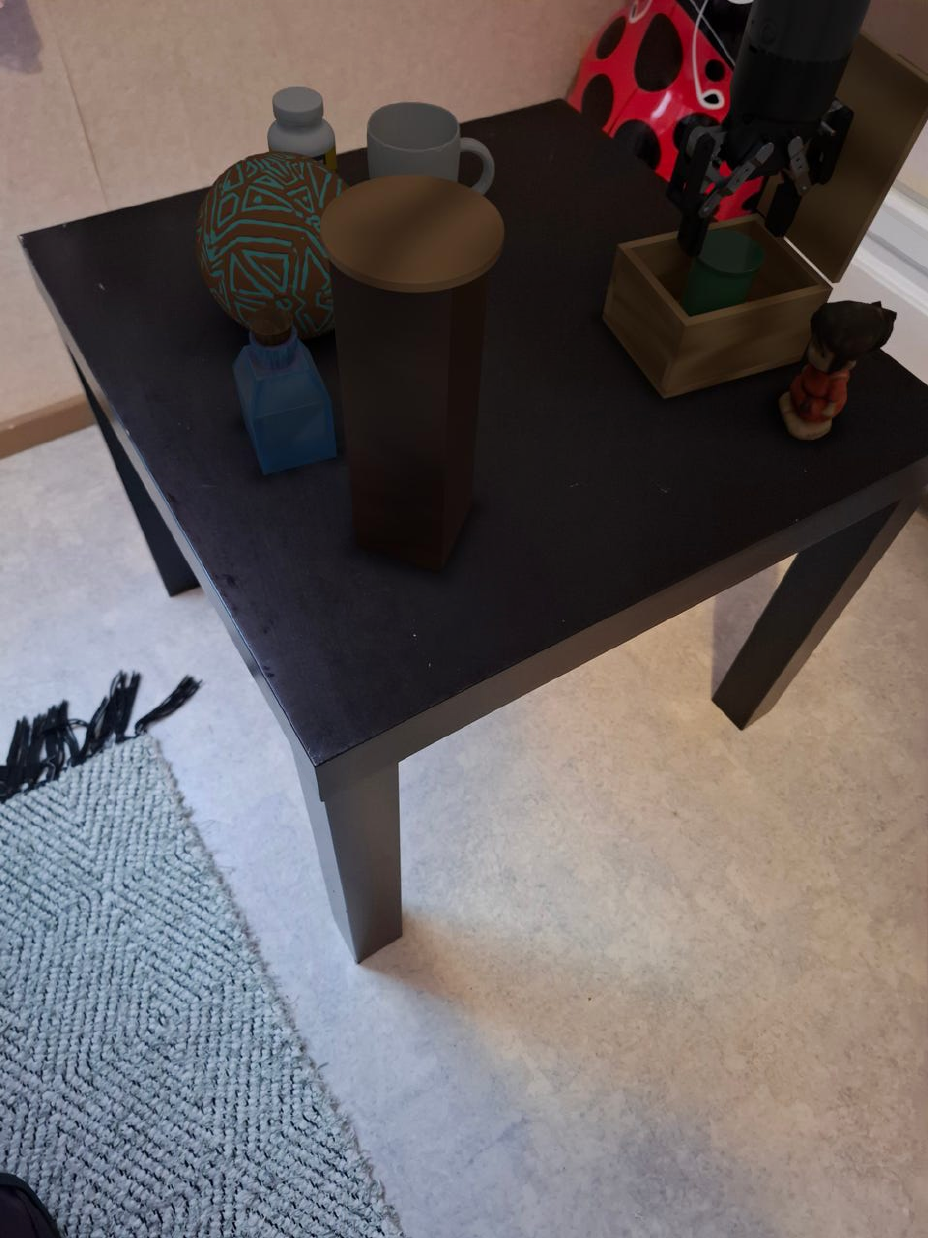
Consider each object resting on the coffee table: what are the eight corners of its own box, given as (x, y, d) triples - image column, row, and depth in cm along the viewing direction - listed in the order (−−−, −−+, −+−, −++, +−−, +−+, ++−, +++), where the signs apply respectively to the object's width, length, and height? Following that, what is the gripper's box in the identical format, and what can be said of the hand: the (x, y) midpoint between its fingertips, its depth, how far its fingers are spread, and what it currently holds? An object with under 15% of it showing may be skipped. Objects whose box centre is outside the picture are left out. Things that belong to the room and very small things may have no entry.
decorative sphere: (183, 313, 82) (140, 153, 69) (314, 253, 88) (296, 96, 75) (276, 400, 76) (248, 243, 63) (409, 330, 82) (408, 173, 69)
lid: (937, 88, 62) (989, 85, 64) (837, 16, 68) (887, 14, 70) (832, 283, 75) (878, 276, 76) (755, 208, 81) (800, 203, 82)
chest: (663, 399, 78) (685, 325, 72) (601, 318, 84) (617, 243, 77) (800, 361, 82) (833, 287, 75) (732, 286, 88) (757, 212, 81)
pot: (739, 320, 83) (769, 238, 76) (729, 360, 80) (759, 279, 73) (676, 304, 84) (700, 222, 77) (663, 343, 81) (687, 261, 74)
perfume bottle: (337, 456, 73) (324, 338, 63) (263, 475, 71) (238, 356, 61) (315, 406, 76) (300, 286, 66) (244, 423, 74) (217, 303, 64)
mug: (378, 252, 88) (375, 153, 80) (363, 202, 93) (358, 103, 85) (501, 240, 90) (509, 142, 82) (480, 191, 95) (486, 94, 87)
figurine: (800, 384, 80) (855, 268, 70) (850, 419, 78) (914, 304, 68) (756, 413, 78) (806, 297, 68) (806, 450, 75) (865, 336, 65)
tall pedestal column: (494, 499, 71) (527, 197, 49) (453, 594, 65) (469, 301, 44) (379, 465, 72) (362, 158, 51) (329, 555, 67) (288, 255, 46)
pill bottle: (291, 239, 89) (276, 122, 79) (268, 206, 92) (251, 88, 82) (351, 224, 91) (343, 108, 81) (326, 192, 94) (316, 76, 84)
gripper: (851, -7, 64) (776, 201, 78) (685, 19, 61) (636, 232, 75) (917, 40, 61) (826, 250, 74) (744, 70, 57) (681, 285, 71)
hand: (731, 241), depth 74 cm, fingers open, 8 cm apart
